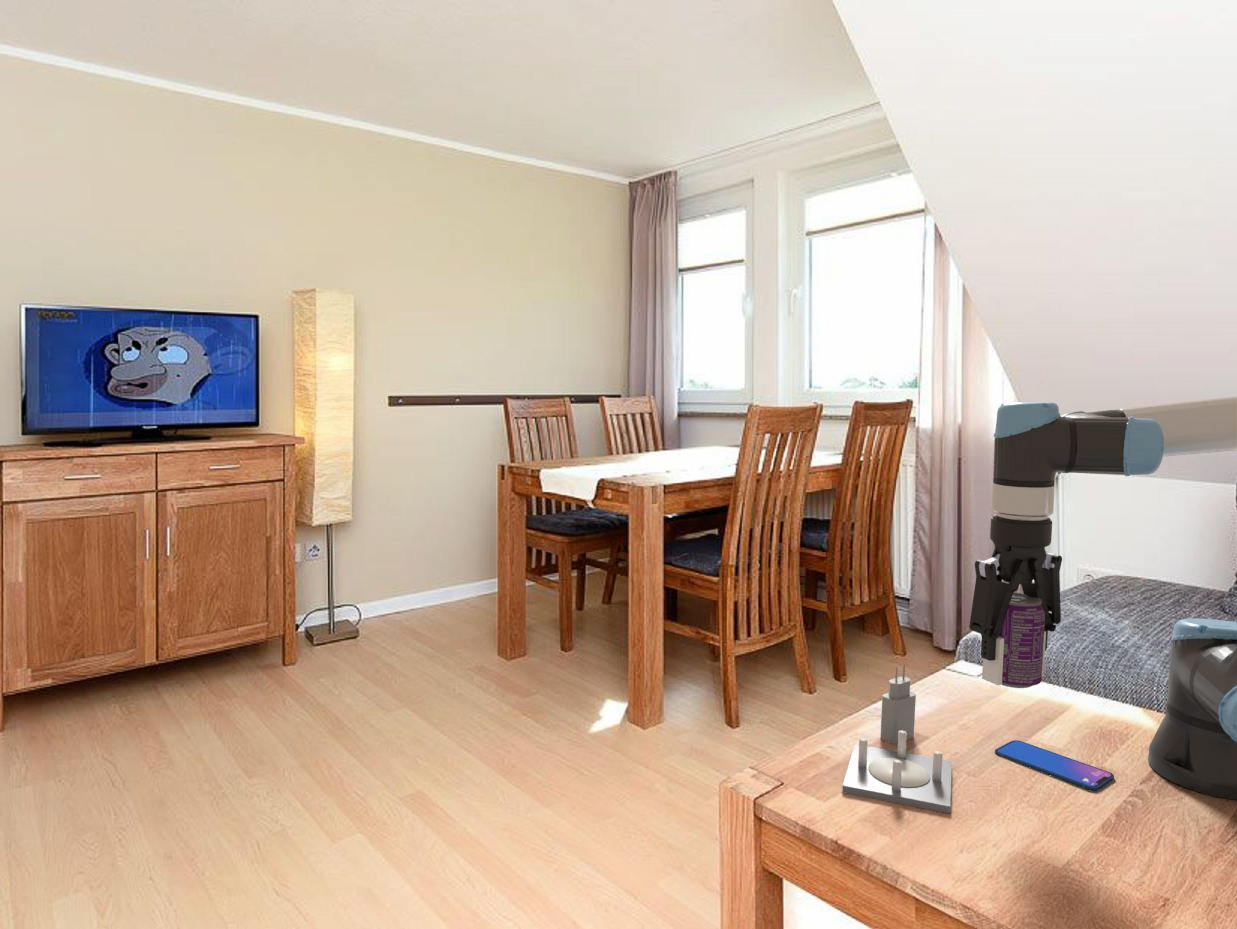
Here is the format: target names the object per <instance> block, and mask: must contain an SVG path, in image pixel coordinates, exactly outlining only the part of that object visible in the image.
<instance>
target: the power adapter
mask: <svg viewBox="0 0 1237 929" xmlns="http://www.w3.org/2000/svg"><path fill="white" fill-rule="evenodd" d="M905 669H906V665H905V664H903V665H902V676H898V675H899V674H898V670H899V669H898V666H896V667H895V677H894V678H891V679H889V682H888V692H887V693H884V694H882V698H881V717H880V719H881V720H880V739H881V740H882V741H884V742H887V743H889V744H890V745H898V731H900V730H902V731H906V732H907V740H906V742H907V741H909V740H911V739H913V738H914V737H915V717H916V702H917V701H916V698H917V694H916V693H915V692H912V691H911V679H910V678H909V677H907V676H905V672H906V670H905Z"/></svg>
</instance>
